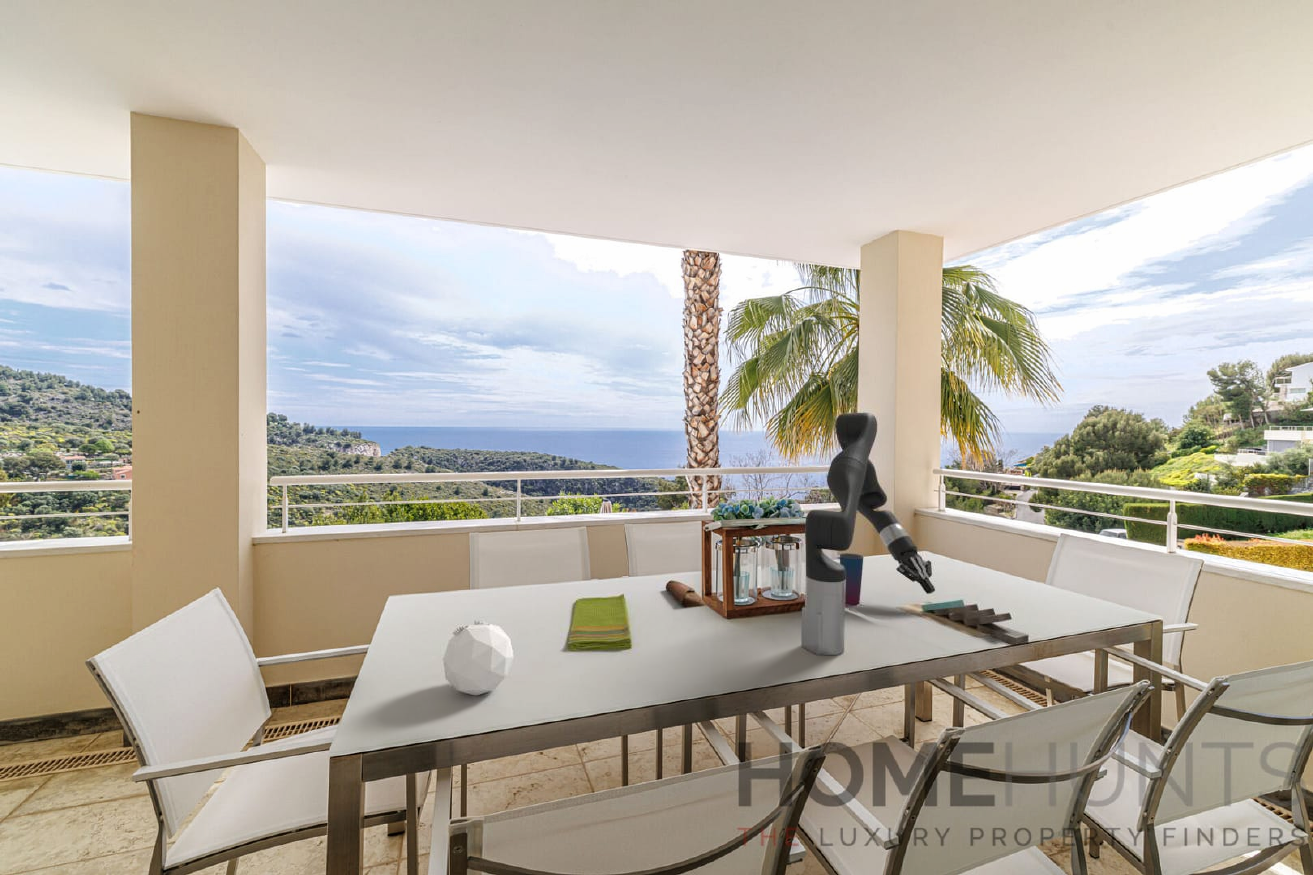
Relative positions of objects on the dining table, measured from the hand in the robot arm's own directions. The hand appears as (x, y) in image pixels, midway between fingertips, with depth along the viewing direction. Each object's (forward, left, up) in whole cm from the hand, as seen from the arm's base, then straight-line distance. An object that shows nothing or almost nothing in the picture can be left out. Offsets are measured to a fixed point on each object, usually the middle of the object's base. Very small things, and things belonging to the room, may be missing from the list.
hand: (931, 592), depth 159 cm
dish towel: (-90, +30, -7) cm, 95 cm away
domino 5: (0, -16, -5) cm, 16 cm away
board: (0, -6, -6) cm, 9 cm away
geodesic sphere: (-125, +4, -7) cm, 125 cm away
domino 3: (0, -8, -5) cm, 9 cm away
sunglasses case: (-59, +41, -7) cm, 72 cm away
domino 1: (0, +1, -5) cm, 5 cm away
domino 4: (0, -12, -4) cm, 13 cm away
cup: (-16, +15, -7) cm, 23 cm away
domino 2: (0, -3, -5) cm, 6 cm away
